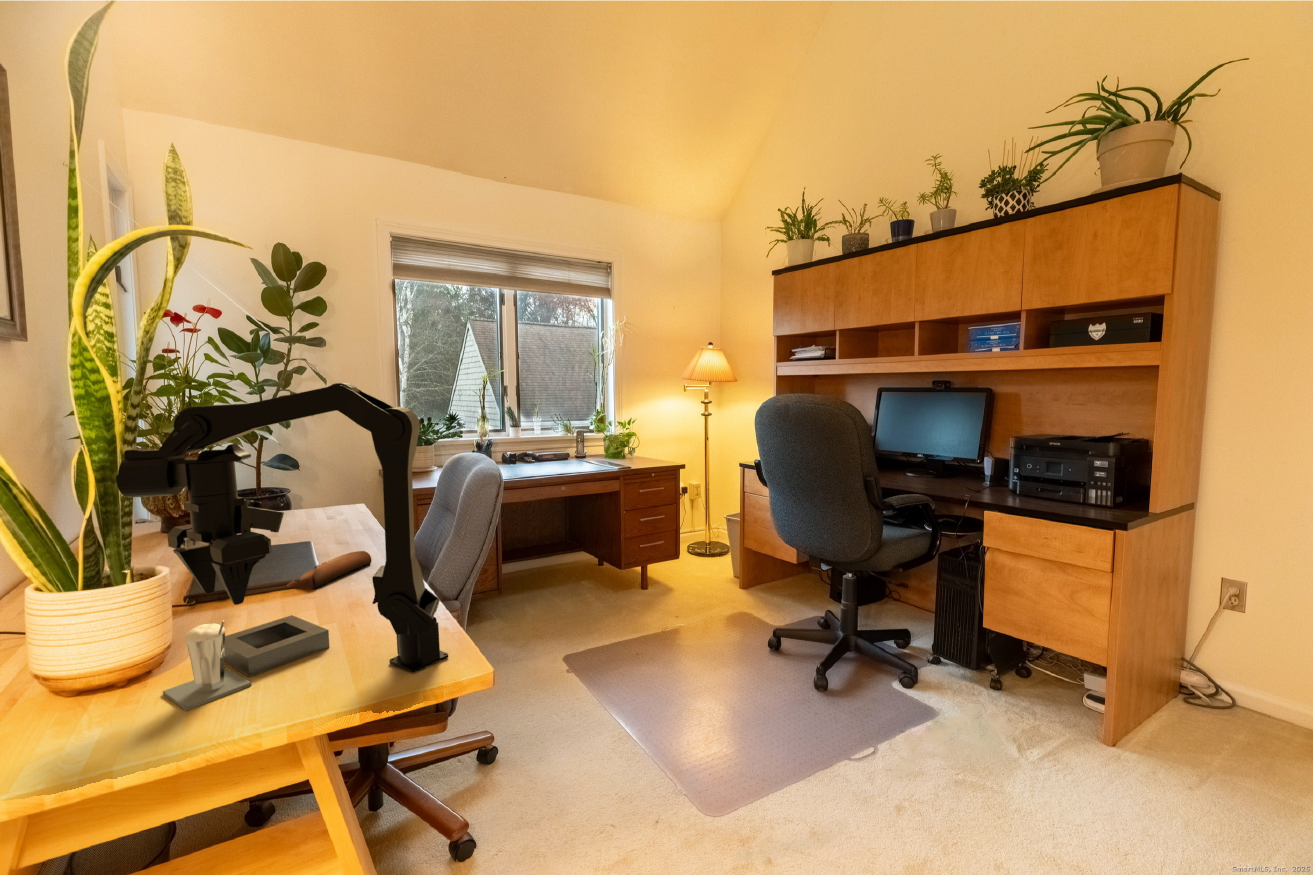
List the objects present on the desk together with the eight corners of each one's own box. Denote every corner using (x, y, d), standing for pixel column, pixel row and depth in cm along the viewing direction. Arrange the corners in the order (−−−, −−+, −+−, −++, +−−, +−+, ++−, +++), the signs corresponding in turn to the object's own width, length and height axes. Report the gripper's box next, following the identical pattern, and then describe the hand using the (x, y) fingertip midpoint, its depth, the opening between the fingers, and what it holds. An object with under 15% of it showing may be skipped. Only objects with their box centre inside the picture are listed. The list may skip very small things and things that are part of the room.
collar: (329, 647, 101) (328, 629, 101) (249, 677, 91) (247, 658, 91) (293, 631, 108) (291, 615, 108) (214, 657, 98) (213, 639, 98)
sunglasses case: (341, 562, 149) (352, 539, 147) (364, 577, 148) (375, 555, 147) (282, 587, 131) (294, 562, 130) (308, 605, 130) (319, 580, 129)
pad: (251, 685, 89) (251, 682, 89) (185, 710, 82) (185, 707, 82) (227, 671, 93) (226, 668, 93) (163, 694, 87) (162, 690, 87)
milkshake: (215, 697, 85) (209, 627, 84) (181, 694, 86) (175, 625, 85) (242, 681, 89) (236, 614, 88) (210, 678, 90) (204, 613, 89)
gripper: (305, 488, 89) (313, 591, 91) (244, 479, 100) (253, 572, 101) (218, 502, 80) (229, 617, 82) (161, 491, 90) (172, 593, 92)
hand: (223, 598), depth 89 cm, fingers open, 9 cm apart
